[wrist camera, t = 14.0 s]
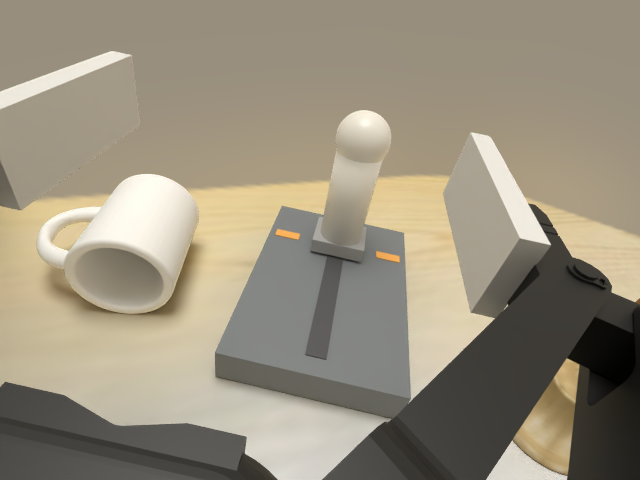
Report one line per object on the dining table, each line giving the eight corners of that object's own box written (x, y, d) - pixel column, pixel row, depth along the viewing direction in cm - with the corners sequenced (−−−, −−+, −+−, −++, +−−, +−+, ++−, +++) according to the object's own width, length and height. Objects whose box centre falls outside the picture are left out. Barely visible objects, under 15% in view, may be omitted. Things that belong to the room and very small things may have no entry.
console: (215, 376, 28) (214, 351, 26) (279, 227, 44) (282, 205, 42) (398, 419, 28) (411, 397, 26) (396, 253, 43) (404, 232, 42)
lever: (309, 252, 36) (335, 115, 28) (317, 225, 40) (341, 97, 31) (360, 263, 36) (401, 129, 28) (363, 236, 39) (400, 109, 31)
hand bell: (625, 485, 26) (856, 351, 17) (512, 467, 26) (681, 321, 17) (572, 380, 33) (716, 240, 23) (481, 364, 33) (589, 217, 23)
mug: (200, 244, 39) (197, 178, 35) (176, 318, 32) (168, 246, 27) (79, 233, 38) (58, 162, 33) (22, 308, 30) (-16, 229, 25)
